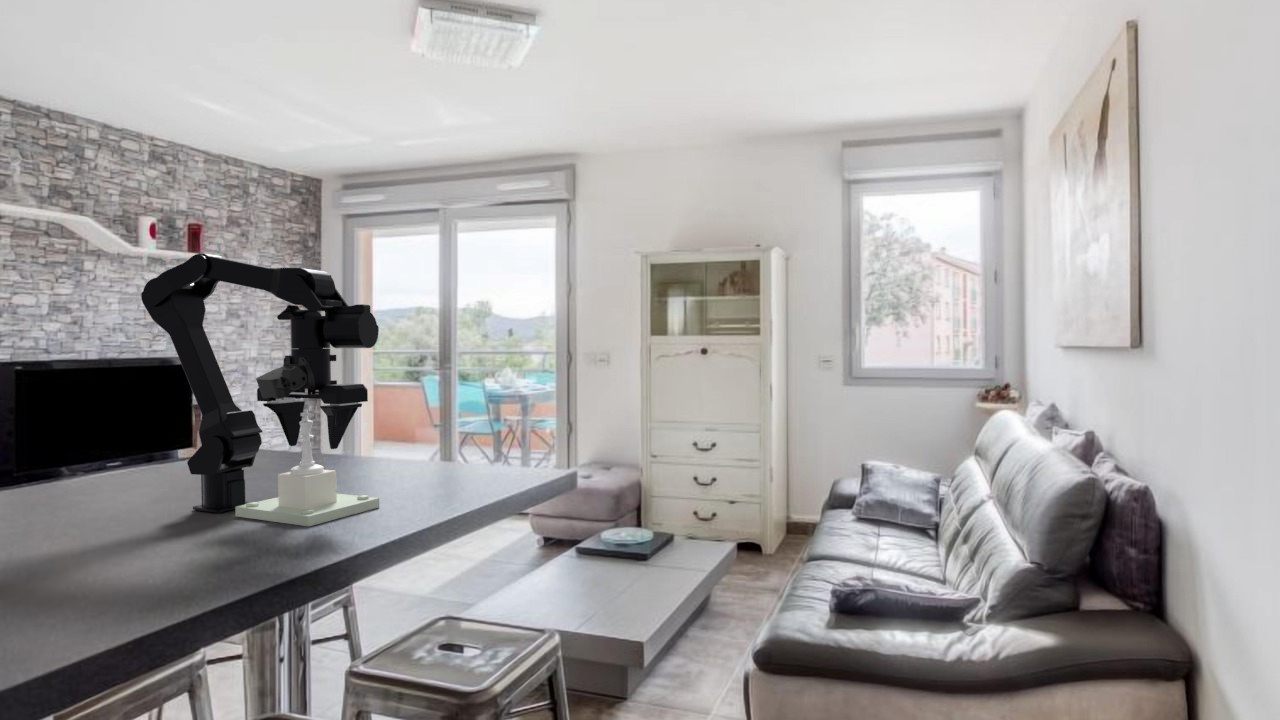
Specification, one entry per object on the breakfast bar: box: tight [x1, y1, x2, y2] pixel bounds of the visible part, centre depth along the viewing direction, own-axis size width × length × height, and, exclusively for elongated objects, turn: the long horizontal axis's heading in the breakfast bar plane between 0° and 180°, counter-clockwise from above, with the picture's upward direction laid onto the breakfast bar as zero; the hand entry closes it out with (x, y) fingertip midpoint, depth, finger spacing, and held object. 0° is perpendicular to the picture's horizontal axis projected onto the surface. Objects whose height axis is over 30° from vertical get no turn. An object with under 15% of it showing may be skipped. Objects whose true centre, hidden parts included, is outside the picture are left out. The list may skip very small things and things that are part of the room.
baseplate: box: [234, 493, 380, 527], centre depth 123 cm, size 16×14×2 cm
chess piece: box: [290, 408, 325, 475], centre depth 122 cm, size 5×5×10 cm
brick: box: [277, 469, 338, 509], centre depth 122 cm, size 6×6×5 cm
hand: (313, 447), depth 123 cm, fingers open, 9 cm apart
